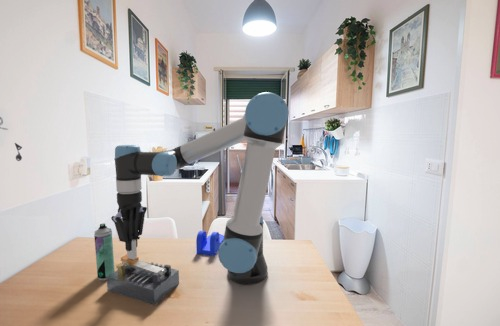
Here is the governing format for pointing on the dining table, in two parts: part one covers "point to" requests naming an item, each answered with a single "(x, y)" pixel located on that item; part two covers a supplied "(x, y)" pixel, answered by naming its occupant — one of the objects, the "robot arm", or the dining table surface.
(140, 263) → the bar
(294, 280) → the dining table surface
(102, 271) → the spray can
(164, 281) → the finned block
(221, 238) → the bracket
